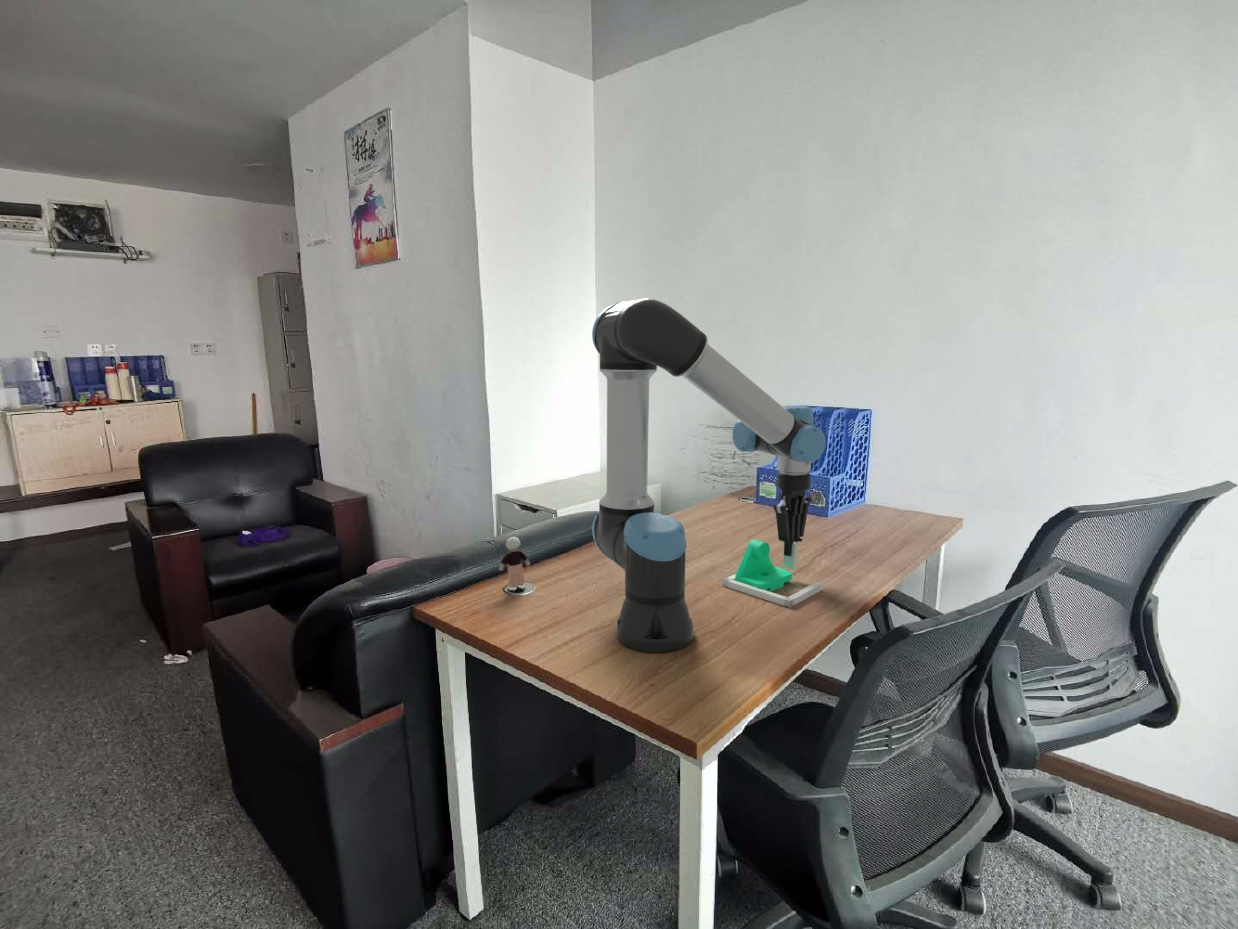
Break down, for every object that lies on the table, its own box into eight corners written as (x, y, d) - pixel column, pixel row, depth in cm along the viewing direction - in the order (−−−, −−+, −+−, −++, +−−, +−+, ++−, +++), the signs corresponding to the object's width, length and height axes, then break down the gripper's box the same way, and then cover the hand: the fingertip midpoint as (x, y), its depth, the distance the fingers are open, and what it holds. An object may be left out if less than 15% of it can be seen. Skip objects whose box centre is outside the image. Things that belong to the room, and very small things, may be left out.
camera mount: (759, 595, 143) (761, 552, 141) (735, 585, 149) (736, 544, 147) (793, 583, 150) (795, 542, 148) (768, 574, 156) (769, 534, 154)
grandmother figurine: (523, 582, 152) (521, 532, 150) (533, 586, 149) (530, 535, 147) (496, 591, 147) (493, 539, 144) (506, 595, 144) (503, 542, 142)
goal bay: (756, 570, 158) (756, 564, 158) (821, 589, 145) (822, 583, 145) (722, 585, 149) (722, 579, 148) (789, 607, 136) (790, 601, 136)
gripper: (793, 478, 140) (789, 578, 145) (822, 470, 149) (817, 564, 153) (764, 473, 145) (761, 570, 150) (794, 465, 154) (790, 557, 159)
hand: (789, 567), depth 152 cm, fingers closed
